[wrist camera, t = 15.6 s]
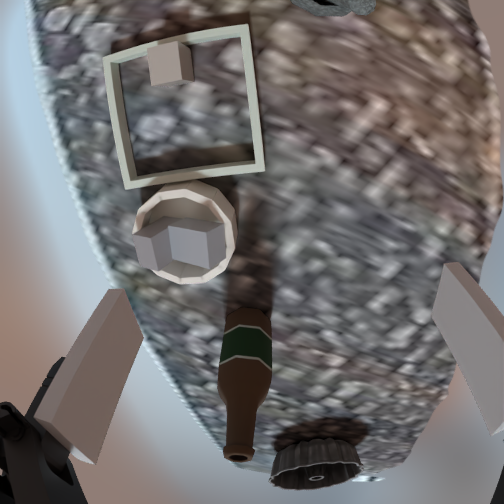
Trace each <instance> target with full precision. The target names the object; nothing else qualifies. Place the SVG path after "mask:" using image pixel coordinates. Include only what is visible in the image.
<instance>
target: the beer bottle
mask: <svg viewBox="0 0 504 504" xmlns="http://www.w3.org/2000/svg"><path fill="white" fill-rule="evenodd" d="M271 378H272V328H271V321H270V320H269V319H268V318H267V317H266V315H265V314H264V313H263V312H262V311H261V310H260V309H254V308H246V307H241V308H239V309H238V310H236V311H234V312H233V313H231V314H229V315H228V316H227V319H226V324H225V330H224V336H223V343H222V349H221V355H220V362H219V371H218V386H217V389H218V392H219V395H220V398H221V399H222V400H223V402H224V403H225V405H226V409H227V433H226V446H225V447H224V449H223V454H224V458H226V459H228V460H230V461H233V462H247V461H251V460H252V457H253V455H254V452H255V450H254V449H253V448H252V447H253V438H254V430H255V421H256V412H257V408H258V407H259V406H260V405H261V404H262V403H263V402H264V400H265V398H266V396H267V394H268V391H269V387H270V384H271Z"/></svg>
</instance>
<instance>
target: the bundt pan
mask: <svg viewBox="0 0 504 504" xmlns="http://www.w3.org/2000/svg"><path fill="white" fill-rule="evenodd" d="M363 466H364V465H363V464H361V461H360V459H359V456H358V454H357V451H356V449H355V447H354V446H353V445H352V444H350V443H347V442H345V441H343V440H334V439H332V438H327V439H325V440H322V439H313V440H311V441H309V442H306V441H301V442H300V443H299V444H293V445H290V446H288V447H287V448H286V449H283V450H281V451H279V452H278V453H277V455H276V457H275V460H274V462H273V467H272V472H271V478H270V479H269V483H271V484H273V486H274V487H279V488H281V489H286V490H315V489H320V488H325V487H331V486H334V485H338V484H342V483H345V482H347V481H349V480H350V479H352V478H355V477H357V476H358V475H359V474H360V473H362V472H363Z"/></svg>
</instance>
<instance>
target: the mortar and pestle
mask: <svg viewBox="0 0 504 504" xmlns="http://www.w3.org/2000/svg"><path fill="white" fill-rule="evenodd" d="M291 2H292V4H294V5H296V6H298V7H300V8H302V9H304V10H306V11H308V12H310V13H312V14H314V15H315V16H345V15H347V14H348V13H350V12H351V11H353V12H354V13H355V14H358V15H368V14H369V13H371V12H373V11H374V8H375V6H376V2H375V0H291Z"/></svg>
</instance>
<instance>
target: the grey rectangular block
mask: <svg viewBox="0 0 504 504" xmlns="http://www.w3.org/2000/svg"><path fill="white" fill-rule="evenodd" d="M181 219H182V218H174V217H167V216H163V217H161V218H160V219H158V220H156V221H154V222H153V223H151V224H149V225H147V226H146V227H144V228H142V229H140V230H139V231H137V232H135V233H134V234H132V236H133V240H134V244H135V248H136V252H137V256H138V259H139V263H140V266H142V267H145V268H148V269H152V270H155V271H160V270H161V269H163V268H164V267H165V266H167V265H168V264H169V263H171V262H172V261H173V260H174V259H172V252H171V245H170V238H169V230H168V225H170V224H172V223H175V222H177V221H179V220H181Z"/></svg>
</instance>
